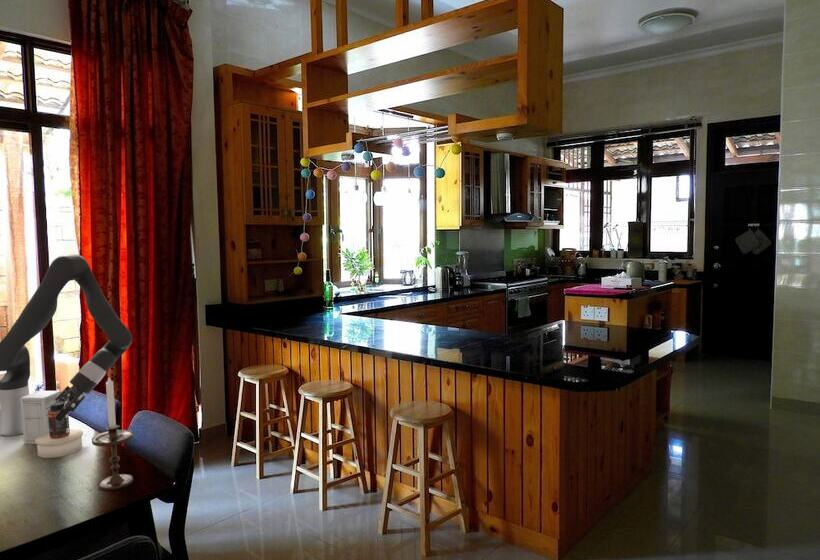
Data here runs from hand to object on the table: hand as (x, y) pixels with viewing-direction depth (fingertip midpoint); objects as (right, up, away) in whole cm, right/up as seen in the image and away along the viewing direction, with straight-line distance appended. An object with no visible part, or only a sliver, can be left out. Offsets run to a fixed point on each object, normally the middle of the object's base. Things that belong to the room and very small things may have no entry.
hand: (53, 417), depth 195 cm
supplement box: (-11, -11, +13) cm, 20 cm away
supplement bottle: (+1, -7, +2) cm, 7 cm away
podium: (+1, -12, +2) cm, 12 cm away
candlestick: (+34, -14, -25) cm, 44 cm away
